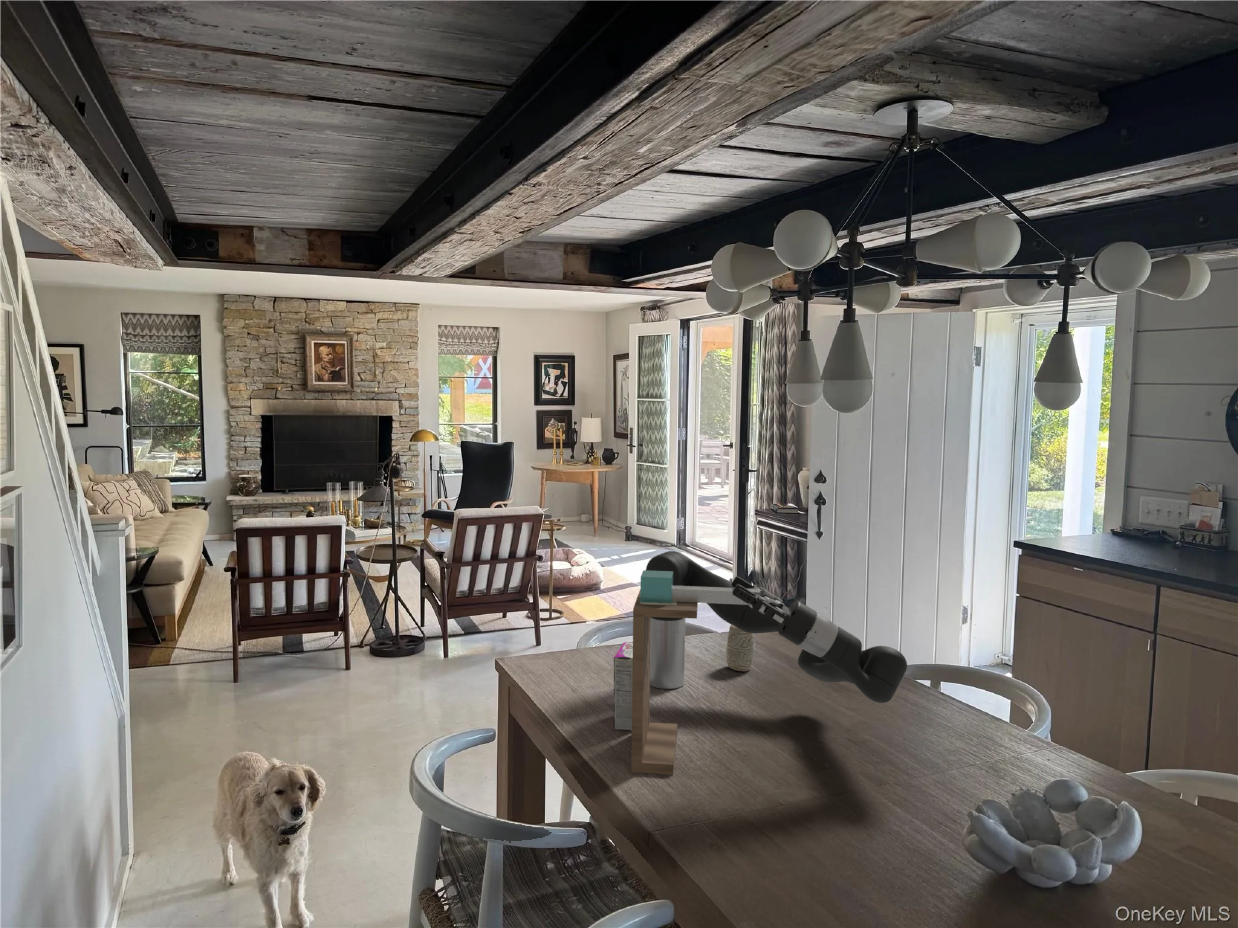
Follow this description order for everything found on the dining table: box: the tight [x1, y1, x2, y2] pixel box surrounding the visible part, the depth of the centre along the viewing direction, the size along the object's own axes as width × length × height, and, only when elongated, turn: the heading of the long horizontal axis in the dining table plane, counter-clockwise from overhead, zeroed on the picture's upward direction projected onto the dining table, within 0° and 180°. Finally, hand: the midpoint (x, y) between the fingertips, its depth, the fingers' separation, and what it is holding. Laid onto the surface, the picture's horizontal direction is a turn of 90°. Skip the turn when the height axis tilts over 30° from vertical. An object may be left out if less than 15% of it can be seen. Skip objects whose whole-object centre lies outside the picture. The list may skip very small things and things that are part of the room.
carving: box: [725, 624, 756, 672], centre depth 220 cm, size 6×8×12 cm
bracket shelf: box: [630, 590, 699, 776], centre depth 167 cm, size 20×12×32 cm, turn 174°
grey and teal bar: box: [639, 569, 760, 605], centre depth 162 cm, size 6×23×5 cm, turn 84°
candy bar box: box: [613, 641, 633, 732], centre depth 183 cm, size 11×5×16 cm, turn 168°
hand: (734, 584), depth 161 cm, fingers open, 6 cm apart
